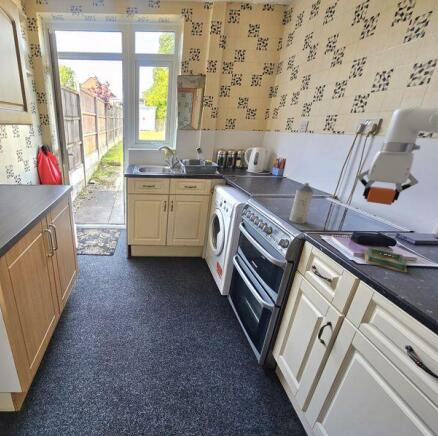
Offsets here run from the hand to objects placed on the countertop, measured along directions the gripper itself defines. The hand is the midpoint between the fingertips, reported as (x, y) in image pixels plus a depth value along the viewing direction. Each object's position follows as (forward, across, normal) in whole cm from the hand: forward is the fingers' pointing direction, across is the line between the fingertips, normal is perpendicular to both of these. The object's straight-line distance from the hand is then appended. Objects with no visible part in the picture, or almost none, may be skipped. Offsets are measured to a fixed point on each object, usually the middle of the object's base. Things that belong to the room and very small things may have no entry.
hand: (378, 199), depth 88 cm
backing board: (+21, -6, +4) cm, 23 cm away
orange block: (+1, 0, 0) cm, 1 cm away
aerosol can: (+21, +25, -19) cm, 38 cm away
